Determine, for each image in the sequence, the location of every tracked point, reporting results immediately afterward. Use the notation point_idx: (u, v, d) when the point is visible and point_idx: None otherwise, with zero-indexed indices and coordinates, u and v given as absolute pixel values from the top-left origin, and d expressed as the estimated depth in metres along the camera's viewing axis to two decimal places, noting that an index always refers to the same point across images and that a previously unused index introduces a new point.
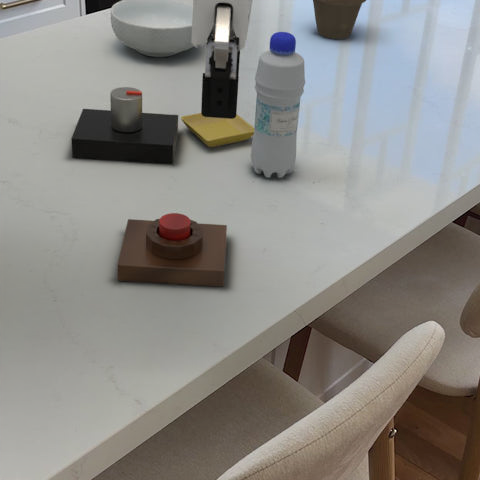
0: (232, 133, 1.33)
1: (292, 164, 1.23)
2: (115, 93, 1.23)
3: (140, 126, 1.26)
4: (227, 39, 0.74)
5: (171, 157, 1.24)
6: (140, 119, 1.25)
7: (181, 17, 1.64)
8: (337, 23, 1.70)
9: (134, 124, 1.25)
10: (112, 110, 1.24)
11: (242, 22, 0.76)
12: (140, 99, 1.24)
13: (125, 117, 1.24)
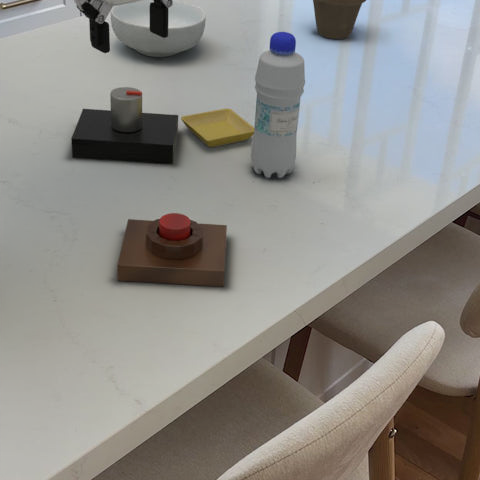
0: (232, 133, 1.33)
1: (292, 164, 1.23)
2: (115, 93, 1.23)
3: (140, 126, 1.26)
4: None
5: (171, 157, 1.24)
6: (140, 119, 1.25)
7: (181, 17, 1.64)
8: (337, 23, 1.70)
9: (134, 124, 1.25)
10: (112, 110, 1.24)
11: None
12: (140, 99, 1.24)
13: (125, 117, 1.24)
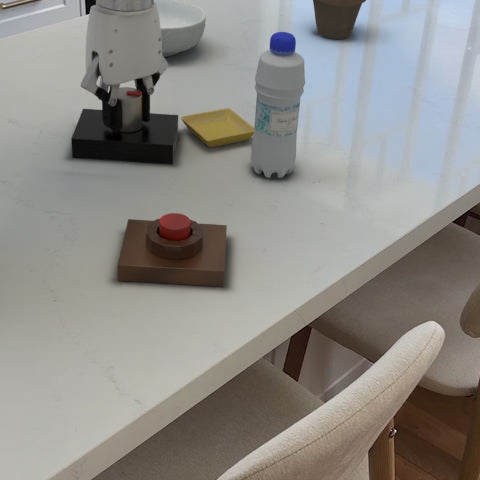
0: (232, 133, 1.33)
1: (292, 164, 1.23)
2: None
3: (140, 126, 1.26)
4: (86, 84, 1.17)
5: (171, 157, 1.24)
6: (140, 119, 1.25)
7: (181, 17, 1.64)
8: (337, 23, 1.70)
9: (134, 124, 1.25)
10: None
11: (103, 67, 1.17)
12: (140, 99, 1.24)
13: (125, 117, 1.24)
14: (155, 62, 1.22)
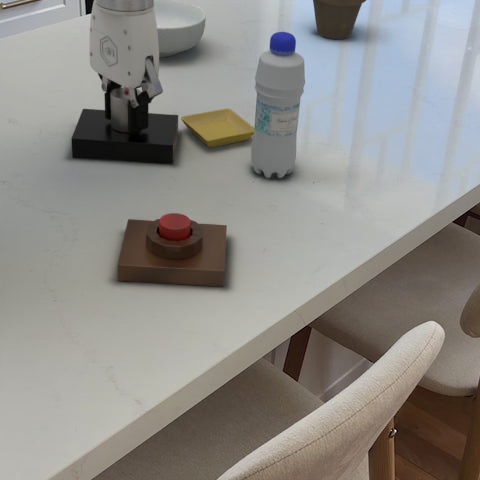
0: (232, 133, 1.33)
1: (292, 164, 1.23)
2: (128, 97, 1.23)
3: None
4: (161, 87, 1.19)
5: (171, 157, 1.24)
6: None
7: (181, 17, 1.64)
8: (337, 23, 1.70)
9: None
10: None
11: (158, 64, 1.19)
12: None
13: None
14: None
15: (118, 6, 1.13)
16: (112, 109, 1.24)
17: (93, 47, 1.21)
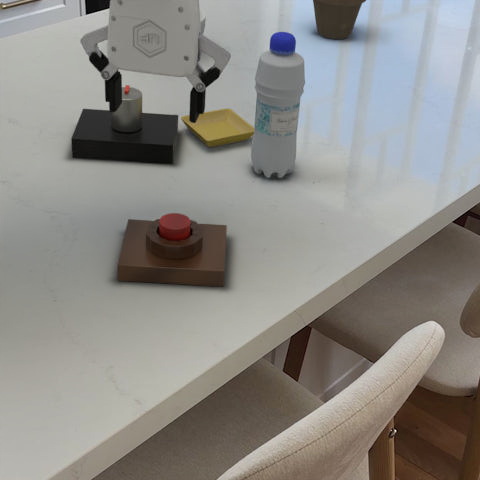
0: (232, 133, 1.33)
1: (292, 164, 1.23)
2: (128, 97, 1.23)
3: None
4: (227, 51, 1.01)
5: (171, 157, 1.24)
6: None
7: None
8: (337, 23, 1.70)
9: None
10: (134, 113, 1.24)
11: None
12: None
13: None
14: None
15: None
16: None
17: (117, 40, 0.99)
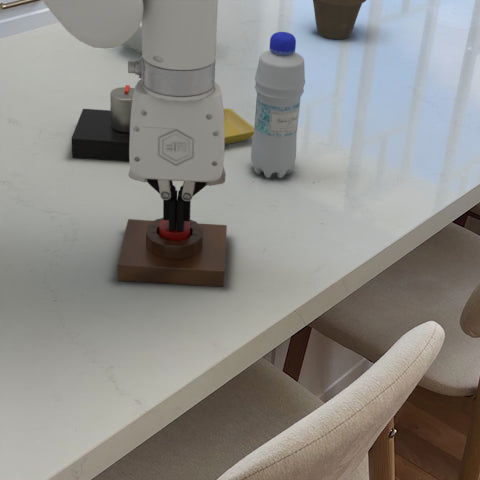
0: (232, 133, 1.33)
1: (292, 164, 1.23)
2: (128, 97, 1.23)
3: None
4: None
5: None
6: None
7: None
8: (337, 23, 1.70)
9: None
10: None
11: None
12: None
13: None
14: None
15: (200, 89, 0.90)
16: (112, 109, 1.24)
17: (141, 150, 0.94)
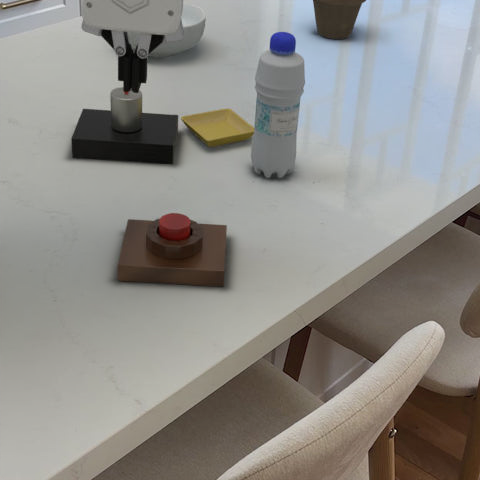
0: (232, 133, 1.33)
1: (292, 164, 1.23)
2: (128, 97, 1.23)
3: None
4: (183, 31, 0.95)
5: (171, 157, 1.24)
6: None
7: (181, 17, 1.64)
8: (337, 23, 1.70)
9: None
10: (134, 113, 1.24)
11: None
12: None
13: None
14: None
15: None
16: (112, 109, 1.24)
17: None
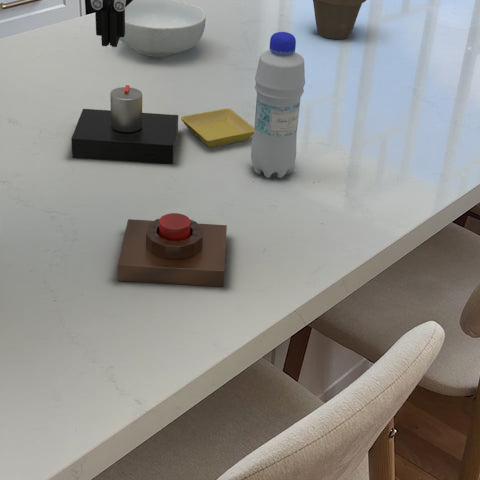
0: (232, 133, 1.33)
1: (292, 164, 1.23)
2: (128, 97, 1.23)
3: None
4: None
5: (171, 157, 1.24)
6: None
7: (181, 17, 1.64)
8: (337, 23, 1.70)
9: None
10: (134, 113, 1.24)
11: None
12: None
13: None
14: None
15: None
16: (112, 109, 1.24)
17: None
